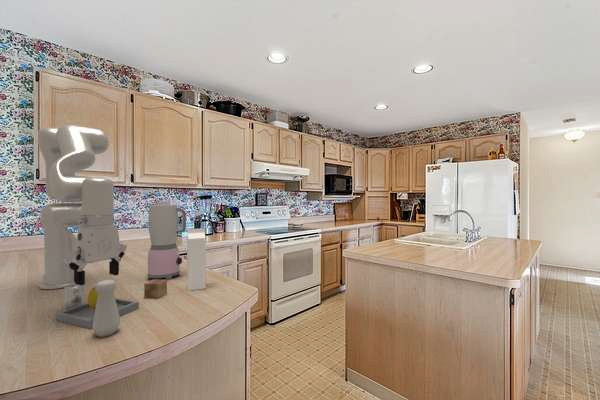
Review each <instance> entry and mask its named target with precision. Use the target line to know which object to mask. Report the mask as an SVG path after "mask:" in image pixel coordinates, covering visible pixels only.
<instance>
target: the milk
mask: <svg viewBox="0 0 600 400" xmlns="http://www.w3.org/2000/svg"><path fill="white" fill-rule="evenodd" d="M206 239H207V238H206V234H205V228H203V227H202V228H188V229H187V235H186V244H187V245H186V252H187V253H186V255H187V256H186V261H187V262H186V264H187V265H186V269H187V270H186V271H187V276H186V277H187V278H186V279H187V289H188V291H189V292H190V291H198V290H202V289H203V290H204V289H206V288H207V268H206V267H207V264H206V263H207V260H206V259H207V258H206V256H207V255H206V254H207V253H206V252H207V249H206V247H207V246H206Z"/></svg>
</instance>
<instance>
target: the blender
mask: <svg viewBox="0 0 600 400" xmlns="http://www.w3.org/2000/svg"><path fill="white" fill-rule="evenodd" d="M179 213H180V214H181V228H179ZM147 221H148V222H147V223H148V233H149V240H150V249H149V250H148V253H147V279H148V280H151V279H163V278H165V280H167V281H170V280H172V279H173V277H174V276H180V275H181V273H180V271H181V270H180V265H181V264H182V263H183V259H182V257H181V256H180V254H181V253H180V250H179V248H178V246H177V238H178V234H180V233H184V232H185V231H186V229H187V212H186V211H185V209H184V208H180V207H178V204H174V203H172V204H171V201H156V204H149V205H148V220H147Z"/></svg>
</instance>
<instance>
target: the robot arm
mask: <svg viewBox="0 0 600 400" xmlns="http://www.w3.org/2000/svg"><path fill="white" fill-rule="evenodd" d="M37 144H38V147H39V150H40V152H41V155H42V157H43V158H44V162H45V163H44V164H45V192H46V195H47V197H49V198H50V199H52V200H55V201H58V202H57V203H54V202H53V203H50V204H45V205H44V206H43V207H42V208H41V210H40V220H41V225H42V231H43V242H44V244H43V247H44V249H43V250H44V255H43V256H44V257H43V258H44V273H43V275H42V278H44V282H41V283H39V289H41V290H58V289H63V288H64V289H65V287H66V286H69V285H74V284H77V285H81V286H82V285H83V286H85V284H86V271H85V270H84V269H85V268H86V266H87V265H88V264H94V263H98V262H104V261H107V260H110V261H109V262H108V263H109V265H108V267H109V269H108V270H109V271H108V273H109V275H113V276H119V272H120V262H121V261H122V258H124V255H125V253H126V250H127V248H128V246H127V245H125V244H122V243H121V241H120V235H119V230H118V226H117V224H115V223H114V217H115V216H114V210H115V209H114V203H115V202H114V195H115V194H114V193H115V192H114V190H115V187H114V181H113V180H111V179H109V178H102V177H92V176H89V175H85V176H84V175H76V174H75V173H77V172H80V171H83V170H86V169H89V168H90V167H92V166H93V165H94V164H95V162H96V155H100V154H103V153H105V152H107V150H108V148H109V145H110V144H109V137H108V135H107V134H106V132H104V131H103V130H102V129H100V128H94V127H88V126H81V125H76V124H75V125H74V124H65V125H62V126H59V127H42V128H40V129H39V130H38V133H37ZM75 227H77V228H78V230H77V235H75V234H74V233H73V232H72V231H71V230H69V229H68V228H75Z"/></svg>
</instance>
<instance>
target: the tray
mask: <svg viewBox="0 0 600 400" xmlns="http://www.w3.org/2000/svg"><path fill="white" fill-rule="evenodd" d="M115 300H116V304H117V308H118V312H119V316H120V317H122V316H124V315H126V314H128V313H131V312H134V311H135V310H138V309H139V308H140V303H139V301H135V300H129V299H124V298H119V297H115ZM94 314H95V309H92V308H91V307H90V306H89V304H88V302H86V303H85V302H84V304H82V305H79V306H76V307H74V308H71V309H68V310H65V309H64V310H62V311H59V312H55V322H60V323H64V324H69V325H72V326H77V327H81V328H85V329H90V330H91V329H93V328H92V325H93V320H94Z"/></svg>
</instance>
